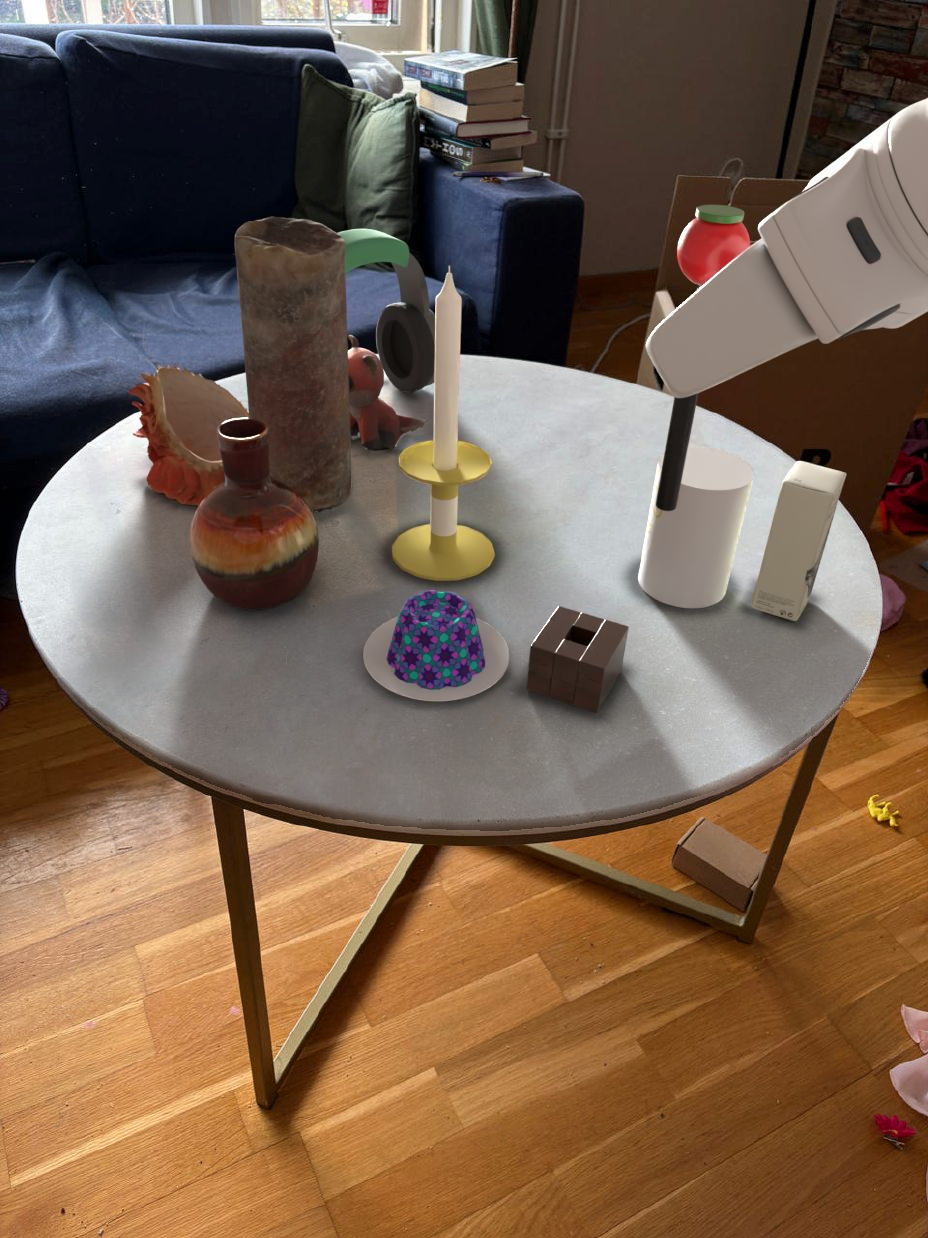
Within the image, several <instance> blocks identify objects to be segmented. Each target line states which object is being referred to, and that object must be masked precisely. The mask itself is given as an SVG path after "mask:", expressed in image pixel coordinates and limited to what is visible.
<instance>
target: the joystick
mask: <svg viewBox="0 0 928 1238" xmlns="http://www.w3.org/2000/svg"><path fill="white" fill-rule="evenodd" d="M744 218H745V211H744V210H743V209H741V208H738V207H735V206H730V205H722V204H702V205H699V206H697V207H696V210H695V218H693V219H692V220H691V221H690V222H689V223H688V224H687V225H686V226H685V228H683V231H682V232H681V234H680V237H679V239H678V242H677V248H676V258H677V263H678V266H679V268H680V270H681V272H682V274H683V275H684V276H685V278H686V279H688V280H689V281H690V282H692V283H693V284H695V285H697V286H698V287H697V288H696V291H697V290H698V289H699V288H701V287H702V286H703V285H704V284H705V283H706V282H708V281H709V280H710V279H711V278H712V277H713V276H715V275H716V274H717V273H718V272H719V271H720V270H722V269H723V268H724V267H725V266H726V265H727V264H729V263H730V262H731V261H732V260H734V259H735V258H736V257H737V256H739V255H740V254H741V253H742V252H744V251H745V250H746V249H748V248H749V247H750V246H751V237H750V235H749V232H748V230H747V227H746V226H745V224H744V223H743V220H744ZM673 398H674V399H673V403H672V409H671V414H670V420H669V425H668V431H667V436H666V442H665V448H664V452H663V453H664V459H663V464H662V470H661V476H660V481H659V487H658V493H657V498H656V507H657V508H658V509H660V510H663V511H673V510H675V509H676V507H677V502H678V497H679V492H680V486H681V481H682V476H683V471H684V466H685V460H686V455H687V450H688V446H690V445H689V444H690V440H691V435H692V434H691V433H692V430H693V424H694V418H695V413H696V408H697V403H698V398H699V393H697V394H694V395H692V396H689V397H685V398H676V397H674V396H673Z"/></svg>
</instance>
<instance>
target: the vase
mask: <svg viewBox="0 0 928 1238" xmlns="http://www.w3.org/2000/svg"><path fill="white" fill-rule="evenodd" d="M216 432H217V439H218V443H219V448H220V452H221V457H222V462H223V467H224V474H225V482H223V483H221V484H220V485H218V486H217V487H215V488H214V489H213V490H212V491H210V492H209V493H208V494H207V496H206V497H205V498H204V499H203V500H202V501H201V503H200V505H197V508H196V510H195V512H194V514H193V517H192V520H191V523H190V528H189V550H190V555H191V560H192V562H193V565H194V568H195V570H196V573H197V574H198V577H199V578H200V580H201V582H202V583H203V585H204V586H205V587H206V589H207V590H208V591H209V592H210V593H211V594H212V595H213V596H214V597H216V598H217V599H218V600H219V601H221V602H223V603H224V604H226V605H229V606H231V607H235V608H238V609H242V610H252V611H253V610H266V609H267V610H268V609H272V608H273V609H274V608H276V607H279V606H282V605H284V604H286V603H287V604H288V602H290V601H292V600H294V598H296V597H298V596H299V595H300V594H301V593H302V592H303V591H304V590H305V589H306V588H307V587H308V585H309V583H310V582H311V580H312V578H313V575H314V574H315V570H316V568H317V563H318V559H319V551H320V533H319V529H318V524H317V520H316V517H315V515H314V514H313V511H311V510H310V508H309V506H308V505H307V503H306V502H305V500H304V499H303V498H302V497H301V496H300V495H299V494H298V493H297V492H296V491H295V490H293V489H292V488H290V487H289V486H288V485H286V484H284V483H282V482H280V481H278V480H276V479H273V478H271V476H270V467H269V433H268V426H267V425H266V424H265V423H264V422H262V421H260V420H257V419H251V418H239V419H233V420H229V421H226V422H224V423H222V424H220V425H219V426H218V428H217V430H216Z"/></svg>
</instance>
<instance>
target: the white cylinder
mask: <svg viewBox="0 0 928 1238" xmlns="http://www.w3.org/2000/svg"><path fill="white" fill-rule="evenodd" d="M664 453H665V452H662V454H661V455H660V456H659V457H658V460H657V465H656V472H655V477H654V483H653V489H652V495H651V501H650V507H649V510H648V511H649V512H648V518H647V524H646V529H645V535H644V540H643V547H642V552H641V559H640V565H639V570H638V575H637V580H638V584H639V586H640V587H641V589H642V590H643V591H644V593H645V594H647V595H648V596H649V597H651V598H653V599H654V600H656V601H658V602H660V603H662V604H665V605H669V606H673V607H675V608H682V609H683V608H684V609H703V608H707V607H710V606H711V607H712V606H714V605H716V604H717V603H719V602H721V601H722V600H723V599H724V598H725V596H726V594H727V589H728V587H729V580H730V577H731V573H732V569H733V565H734V561H735V556H736V552H737V549H738V544H739V541H740V536H741V532H742V527H743V524H744V520H745V515H746V511H747V507H748V503H749V499H750V494H751V491H752V487H753V483H754V478H755V471H754V468H753V467H752V465H751V464H750V463H749V462H748V461H747V460H746V459H744V458H742V457H741V456H738V455H737V454H735V453H733V452H729V451H726V450H724V449H719V448H716V447H710V446H700V445H699V446H698V445H688V450H687V455H686V460H685V466H684V471H683V476H682V481H681V486H680V492H679V497H678V502H677V507H676V509H675V510H673V511H663V510H660V509H658V508H657V507H656V498H657V493H658V487H659V481H660V476H661V470H662V464H663V459H664Z"/></svg>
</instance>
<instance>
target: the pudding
mask: <svg viewBox="0 0 928 1238" xmlns="http://www.w3.org/2000/svg"><path fill="white" fill-rule="evenodd" d="M475 613H476V612H475V610H474V607H473V605H472V604H471V603H470V602H469V601H468V600H467V599H465V598H462V597H460V596H459V594H457V593H455V592H453V591H447V590H445V591H439V590H436V589H435V590H433V589H432V590H426V591H423V592H422V593H421V594H415V595H412V596H410V597H408V598H407V600H406V601H405V602H404V604H403V605H402V607H401V609H400V611H399V612H398V616H395V617H393V618H391V619H388V620H386V621H385V622H384V623H382V624H380V625H379V626H378V627H377V628H376V629H374V630H373V631H372V632H371V634H370V635H369V636H368V638H367V639H366V642H365V643H364V646H363V651H362V657H363V658H362V659H363V663H364V666H365V668H366V671H367V672H368V674H369V675H370V676H371V677H372V679H374V681H376V682H377V683H378V684H379V685H380V686H382V687H383V688H385V689H387V690H388V691H390V692H392V693H394V694H397V695H399V696H402V697H406V698H410V699H413V700H419V701H425V702H449V701H457V700H462V699H467V698H469V697H472V696H475V695H478V694H480V693H482V692H485V691H486V690H488V689H490V688H491V687H492V686H494V685H495V684H496V683H497V682H499V681H500V680H501V678H502V677H504V675H505V673H506V671H507V669H508V667H509V664H510V657H511V656H510V649H509V646H508V643H507V640H505V638H504V636H503V634H501V633H500V632H499V631H498V630H497V628H495V627H493V626H492V625H491V624H489V623H488V622H486V621H484V620H483V619H481V618H478V617H476V614H475Z"/></svg>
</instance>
